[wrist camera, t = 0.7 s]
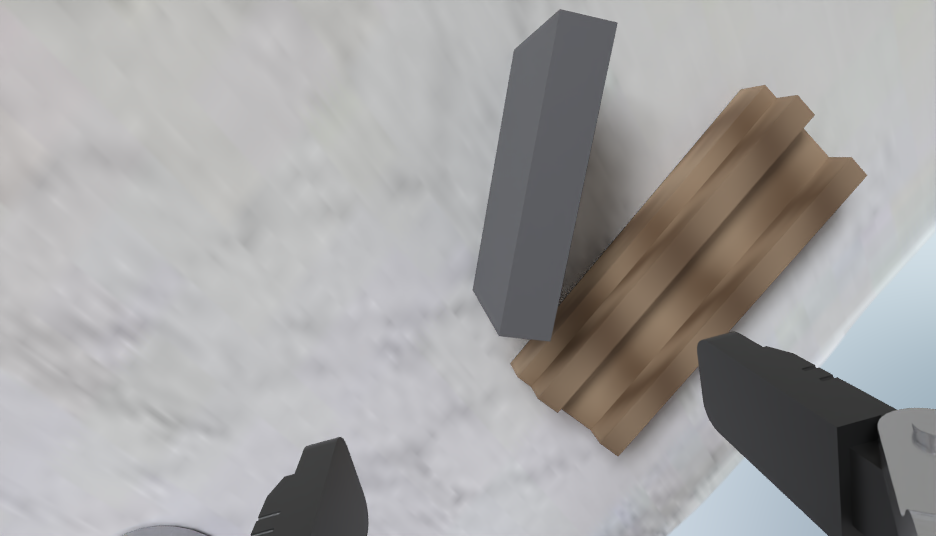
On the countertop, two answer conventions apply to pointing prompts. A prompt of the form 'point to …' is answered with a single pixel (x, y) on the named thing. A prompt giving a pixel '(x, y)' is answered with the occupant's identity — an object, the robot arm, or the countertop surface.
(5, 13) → the countertop surface
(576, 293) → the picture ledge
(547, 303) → the grey photo frame
